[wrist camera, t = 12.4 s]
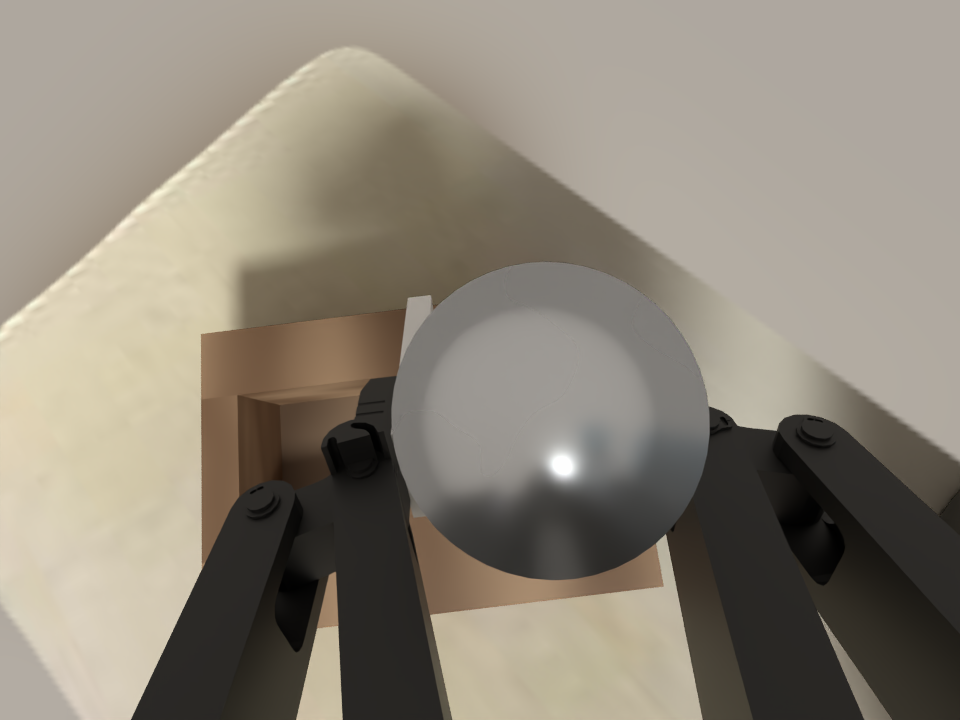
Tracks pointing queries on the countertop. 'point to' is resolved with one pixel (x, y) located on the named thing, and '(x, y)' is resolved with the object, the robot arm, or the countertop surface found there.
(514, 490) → the pin
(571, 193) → the countertop surface
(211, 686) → the robot arm
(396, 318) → the socket block
